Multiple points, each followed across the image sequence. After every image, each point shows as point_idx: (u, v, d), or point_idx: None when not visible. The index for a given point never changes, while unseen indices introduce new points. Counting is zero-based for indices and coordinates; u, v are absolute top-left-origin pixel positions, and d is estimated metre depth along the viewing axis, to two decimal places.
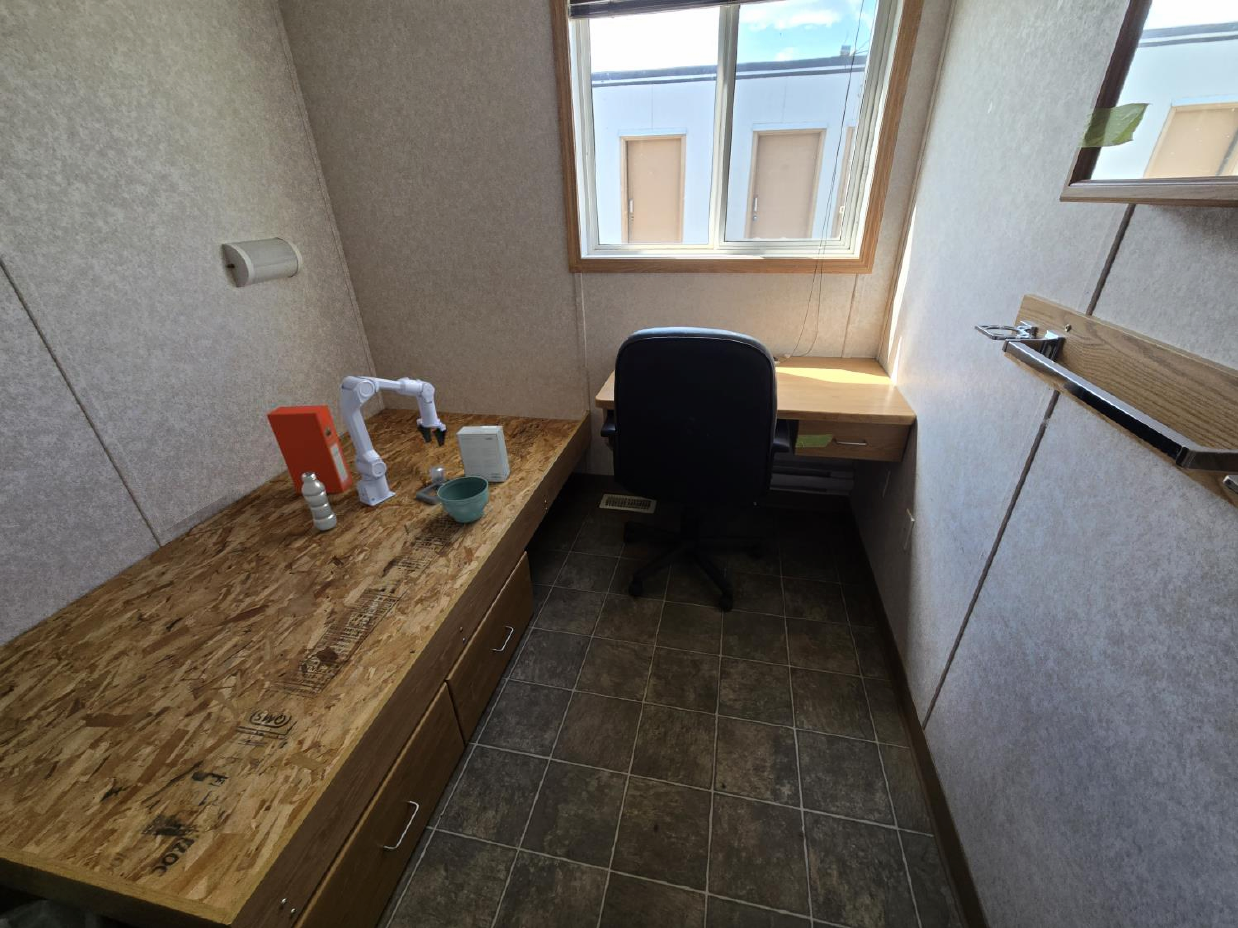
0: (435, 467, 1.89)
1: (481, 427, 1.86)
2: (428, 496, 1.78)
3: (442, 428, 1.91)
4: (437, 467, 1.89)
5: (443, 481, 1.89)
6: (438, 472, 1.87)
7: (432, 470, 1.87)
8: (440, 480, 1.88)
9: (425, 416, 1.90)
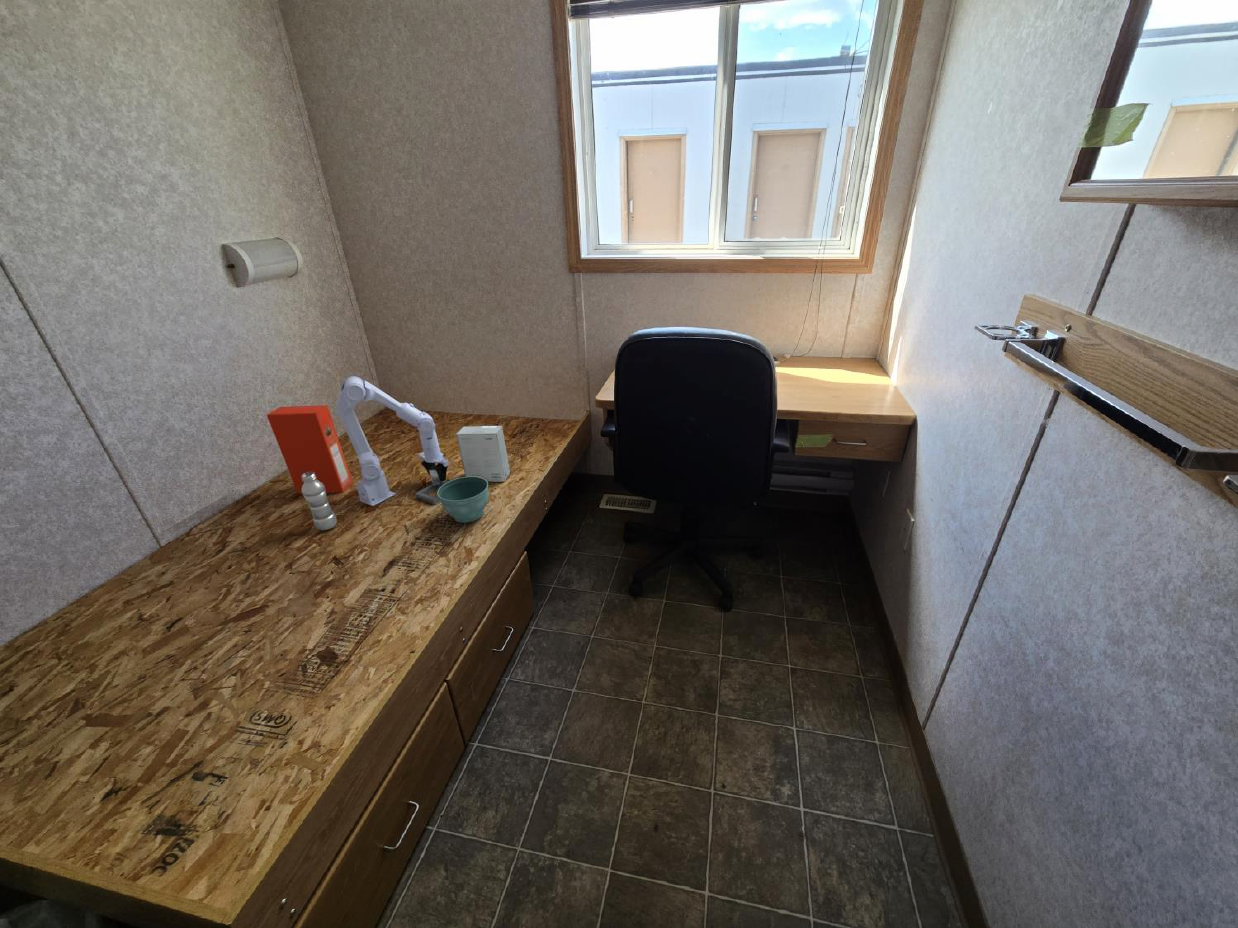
0: None
1: (481, 427, 1.86)
2: (428, 496, 1.78)
3: (445, 464, 1.82)
4: None
5: (443, 481, 1.89)
6: None
7: (432, 470, 1.87)
8: None
9: (428, 451, 1.82)
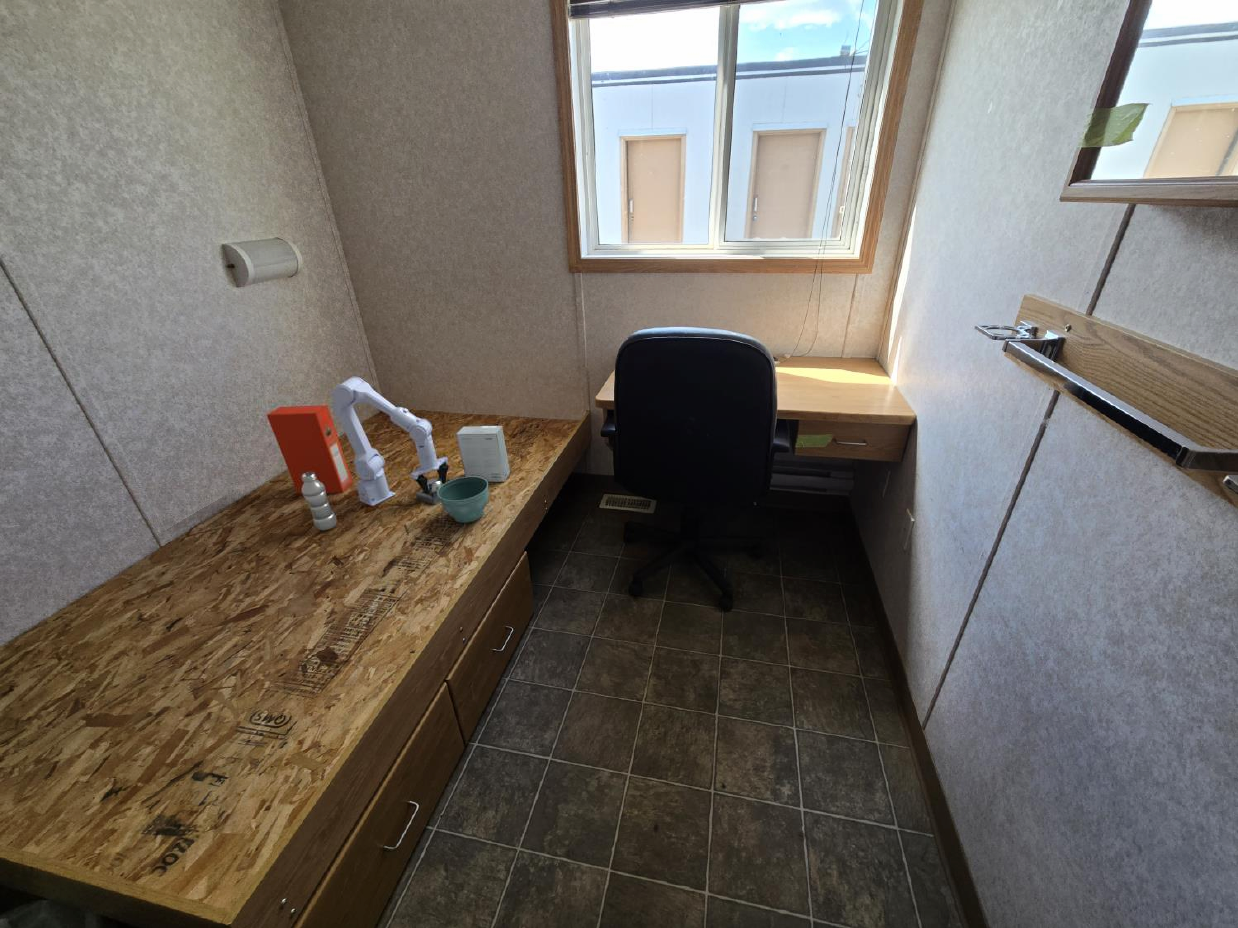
0: (437, 480, 1.80)
1: (481, 427, 1.86)
2: (428, 496, 1.78)
3: (412, 476, 1.72)
4: (436, 481, 1.79)
5: (432, 496, 1.80)
6: None
7: (430, 480, 1.80)
8: (429, 493, 1.80)
9: None
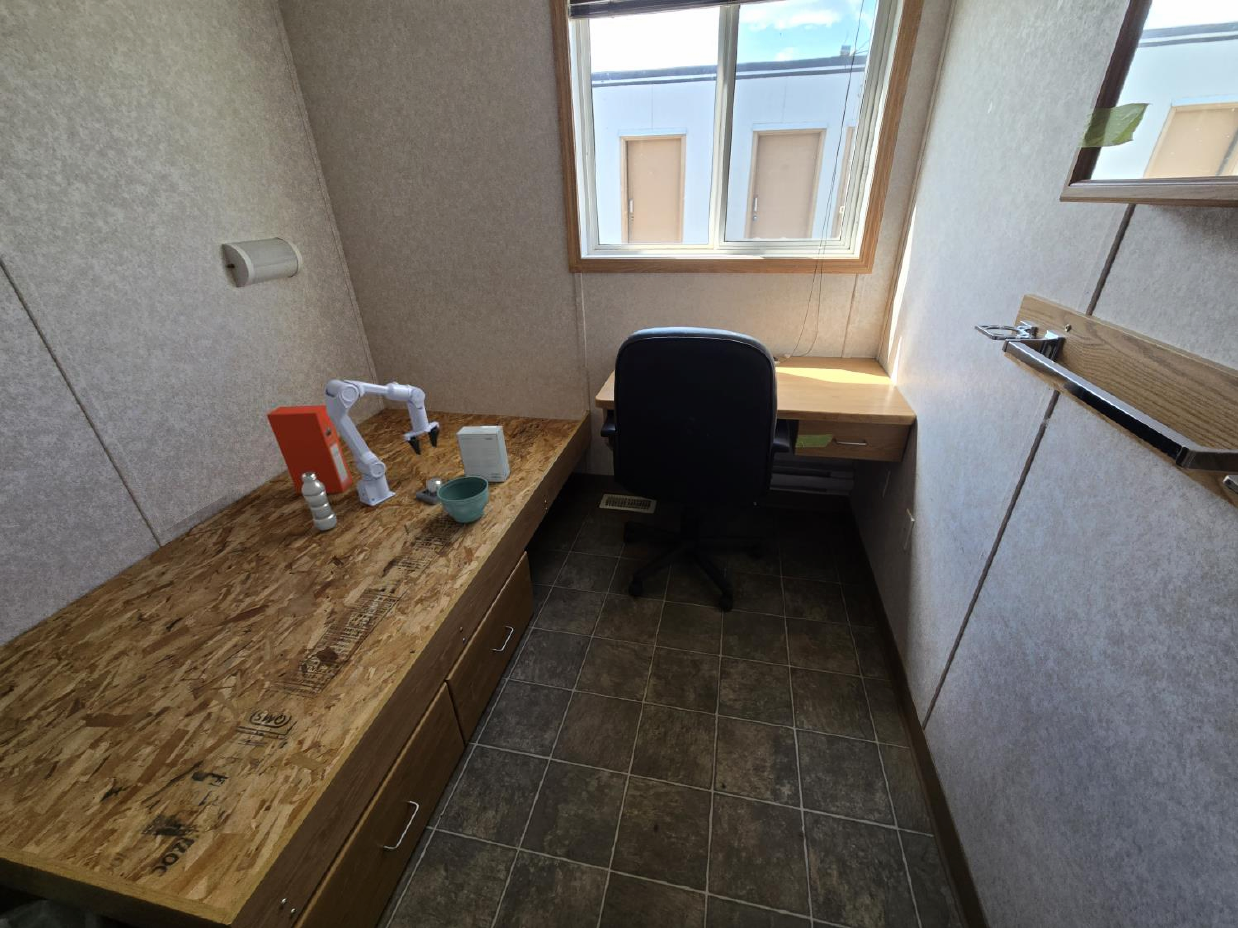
0: (437, 480, 1.80)
1: (481, 427, 1.86)
2: (428, 496, 1.78)
3: (404, 437, 1.85)
4: (436, 481, 1.79)
5: (432, 496, 1.80)
6: (427, 485, 1.78)
7: (430, 480, 1.80)
8: (429, 493, 1.80)
9: None
